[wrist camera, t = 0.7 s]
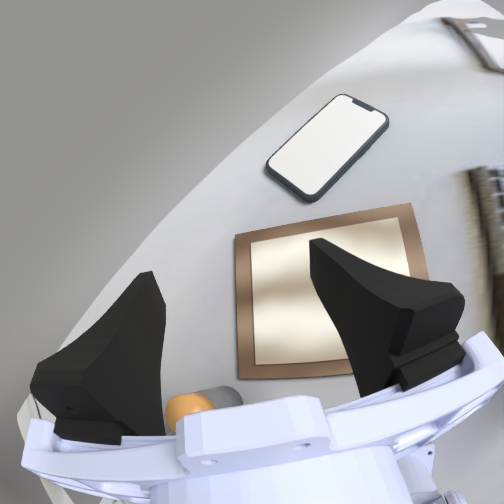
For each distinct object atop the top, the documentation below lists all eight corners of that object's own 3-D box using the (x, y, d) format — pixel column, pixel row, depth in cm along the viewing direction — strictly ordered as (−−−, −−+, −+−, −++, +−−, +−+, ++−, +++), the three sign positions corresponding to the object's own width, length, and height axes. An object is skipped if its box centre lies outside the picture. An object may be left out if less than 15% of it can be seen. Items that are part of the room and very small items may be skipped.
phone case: (314, 209, 31) (393, 125, 30) (311, 203, 30) (393, 117, 29) (265, 170, 35) (341, 98, 34) (260, 164, 34) (340, 90, 33)
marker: (243, 421, 26) (204, 441, 19) (210, 417, 27) (166, 433, 20) (241, 386, 27) (202, 397, 20) (209, 385, 29) (164, 393, 22)
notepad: (436, 358, 21) (438, 358, 20) (241, 377, 28) (237, 378, 27) (410, 205, 26) (411, 201, 25) (237, 236, 33) (234, 233, 32)
